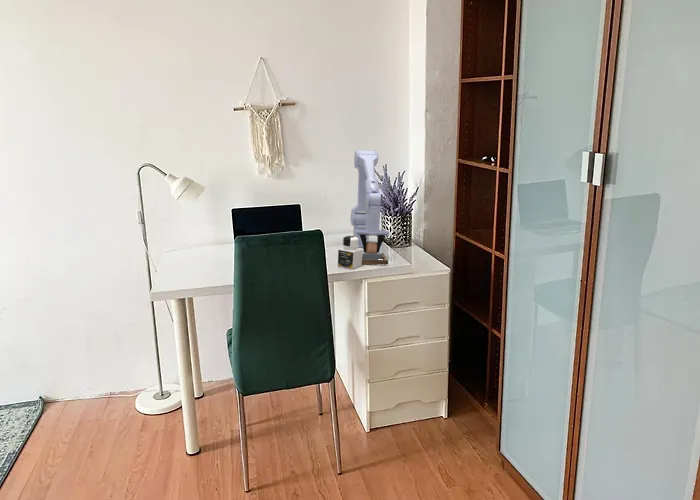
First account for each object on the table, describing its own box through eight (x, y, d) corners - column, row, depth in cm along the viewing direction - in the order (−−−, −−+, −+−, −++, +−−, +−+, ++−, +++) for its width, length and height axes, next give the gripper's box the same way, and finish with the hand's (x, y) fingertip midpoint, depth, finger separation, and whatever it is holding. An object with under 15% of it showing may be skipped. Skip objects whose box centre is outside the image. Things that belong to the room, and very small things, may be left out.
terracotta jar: (364, 254, 253) (365, 241, 252) (375, 255, 253) (376, 241, 252) (365, 257, 248) (366, 243, 247) (377, 257, 248) (378, 243, 247)
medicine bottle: (337, 266, 235) (338, 236, 232) (347, 262, 241) (348, 234, 238) (352, 269, 231) (353, 239, 229) (361, 265, 237) (363, 236, 235)
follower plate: (362, 259, 247) (362, 253, 246) (381, 259, 248) (382, 253, 247) (362, 259, 246) (362, 253, 245) (382, 260, 247) (382, 254, 246)
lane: (357, 256, 252) (357, 251, 252) (382, 256, 253) (383, 252, 253) (361, 264, 239) (361, 260, 238) (387, 265, 240) (388, 260, 239)
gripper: (356, 222, 242) (355, 254, 246) (391, 223, 244) (389, 254, 247) (355, 219, 249) (353, 250, 252) (388, 220, 251) (386, 250, 254)
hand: (371, 252), depth 250 cm, fingers closed on terracotta jar, 5 cm apart
